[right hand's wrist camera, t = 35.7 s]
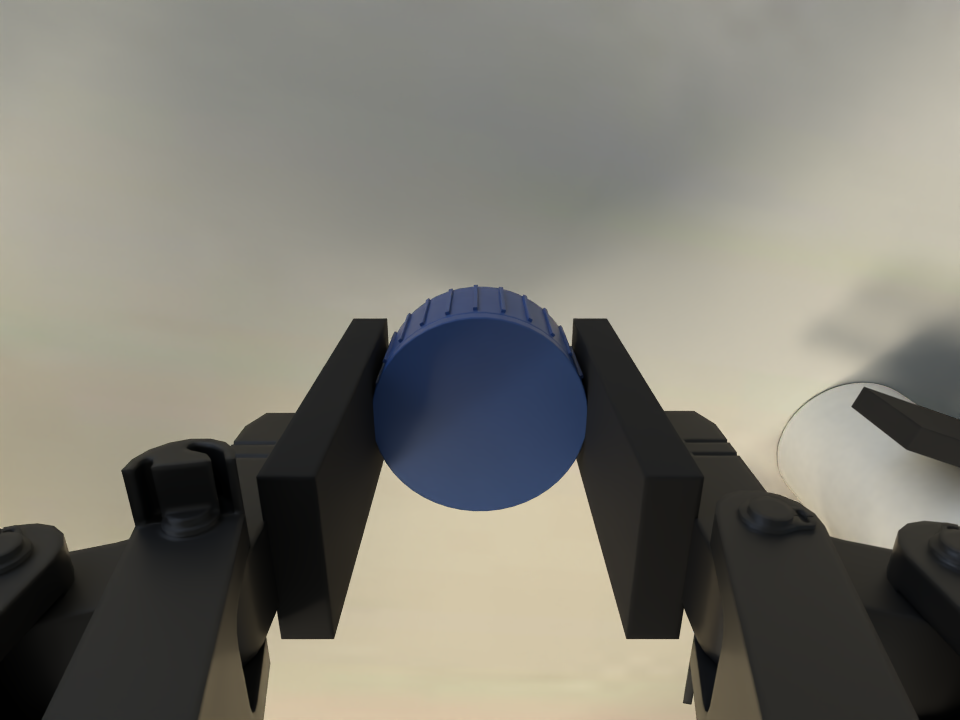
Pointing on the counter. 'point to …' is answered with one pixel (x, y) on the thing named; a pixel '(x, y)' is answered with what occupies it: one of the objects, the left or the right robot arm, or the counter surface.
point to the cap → (479, 400)
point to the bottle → (862, 471)
